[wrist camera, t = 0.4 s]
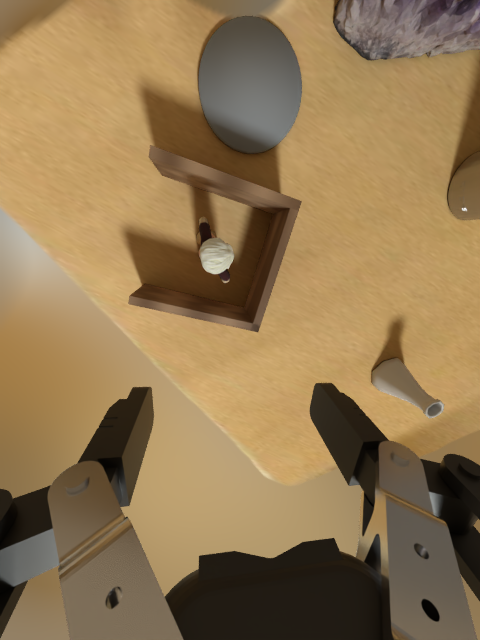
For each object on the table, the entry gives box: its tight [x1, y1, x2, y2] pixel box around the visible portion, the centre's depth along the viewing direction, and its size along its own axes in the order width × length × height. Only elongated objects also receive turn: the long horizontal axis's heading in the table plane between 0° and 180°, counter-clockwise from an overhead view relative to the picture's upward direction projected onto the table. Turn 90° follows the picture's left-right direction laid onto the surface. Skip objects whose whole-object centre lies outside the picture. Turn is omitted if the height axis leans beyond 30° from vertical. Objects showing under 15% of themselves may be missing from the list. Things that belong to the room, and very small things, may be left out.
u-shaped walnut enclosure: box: [128, 145, 302, 332], centre depth 29 cm, size 16×16×7 cm
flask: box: [372, 358, 444, 418], centre depth 40 cm, size 7×7×10 cm
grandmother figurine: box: [196, 217, 234, 283], centre depth 26 cm, size 8×4×13 cm, turn 32°
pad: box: [199, 16, 302, 154], centre depth 26 cm, size 12×12×1 cm
